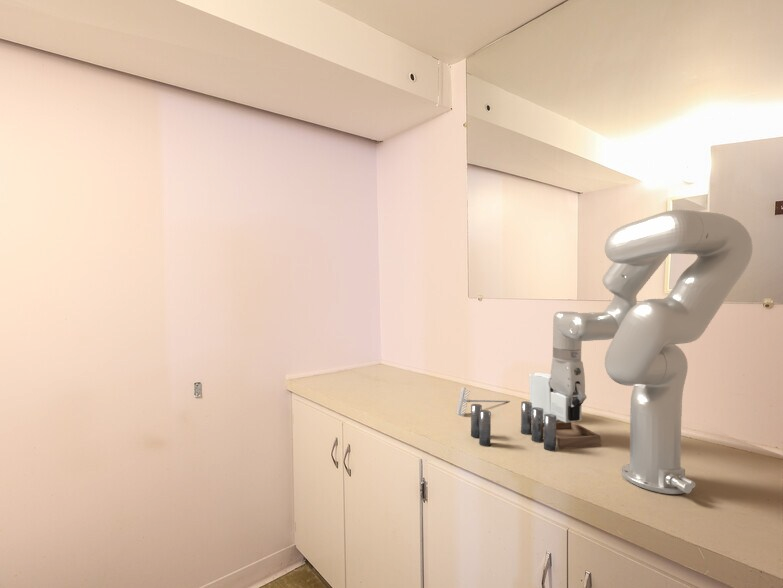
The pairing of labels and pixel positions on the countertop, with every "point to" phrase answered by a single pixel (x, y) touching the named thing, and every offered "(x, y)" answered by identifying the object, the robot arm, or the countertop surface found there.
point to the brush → (469, 401)
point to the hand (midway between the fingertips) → (565, 415)
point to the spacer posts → (529, 425)
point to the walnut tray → (574, 436)
